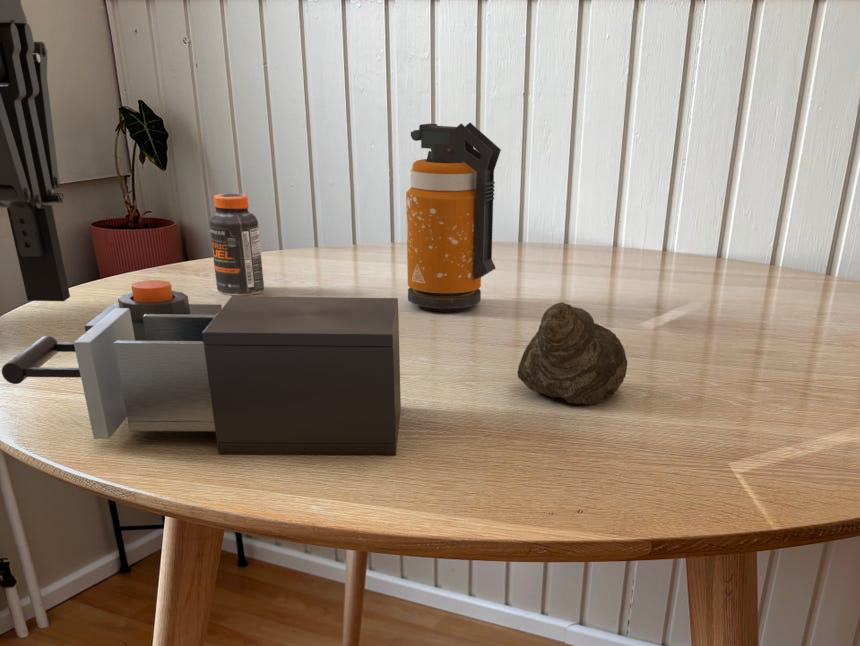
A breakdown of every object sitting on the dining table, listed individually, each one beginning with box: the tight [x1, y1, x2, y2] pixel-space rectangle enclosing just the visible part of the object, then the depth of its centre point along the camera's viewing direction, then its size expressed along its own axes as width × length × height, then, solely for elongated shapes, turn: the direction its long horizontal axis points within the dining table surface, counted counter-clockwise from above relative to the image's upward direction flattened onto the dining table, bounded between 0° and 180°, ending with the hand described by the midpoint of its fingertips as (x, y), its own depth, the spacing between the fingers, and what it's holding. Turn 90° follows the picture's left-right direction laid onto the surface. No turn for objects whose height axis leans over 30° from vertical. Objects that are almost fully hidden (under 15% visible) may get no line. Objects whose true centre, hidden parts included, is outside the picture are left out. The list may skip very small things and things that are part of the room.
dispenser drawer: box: [1, 308, 216, 440], centre depth 75 cm, size 19×11×7 cm, turn 92°
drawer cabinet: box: [202, 295, 402, 456], centre depth 76 cm, size 14×12×9 cm
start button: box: [130, 279, 173, 302], centre depth 99 cm, size 4×4×2 cm
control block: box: [84, 290, 223, 341], centre depth 101 cm, size 12×10×4 cm
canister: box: [405, 122, 502, 313], centre depth 110 cm, size 9×11×20 cm
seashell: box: [517, 302, 628, 406], centre depth 85 cm, size 11×12×10 cm
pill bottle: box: [208, 193, 265, 296], centre depth 117 cm, size 6×6×11 cm
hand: (49, 298), depth 72 cm, fingers closed
